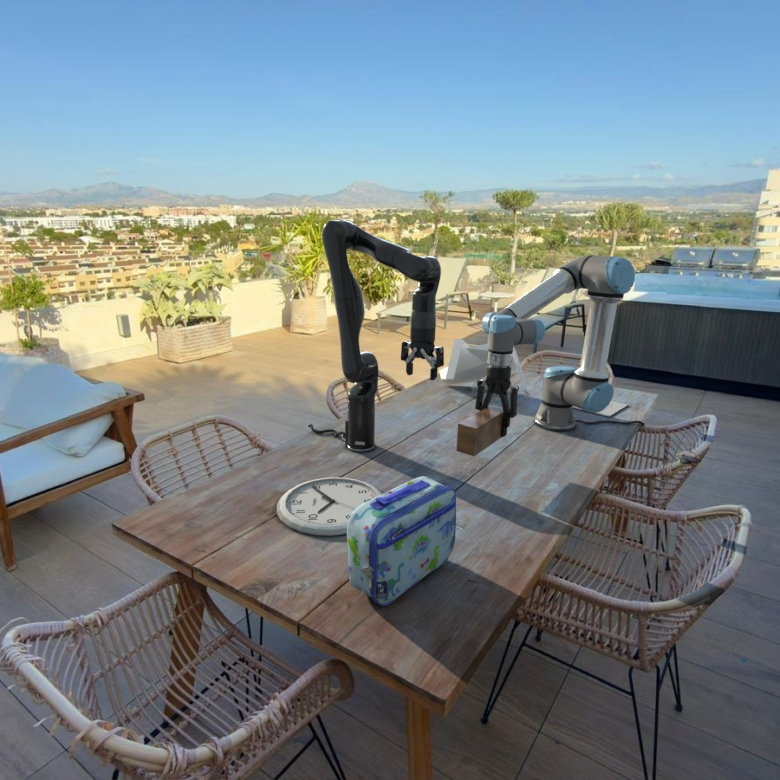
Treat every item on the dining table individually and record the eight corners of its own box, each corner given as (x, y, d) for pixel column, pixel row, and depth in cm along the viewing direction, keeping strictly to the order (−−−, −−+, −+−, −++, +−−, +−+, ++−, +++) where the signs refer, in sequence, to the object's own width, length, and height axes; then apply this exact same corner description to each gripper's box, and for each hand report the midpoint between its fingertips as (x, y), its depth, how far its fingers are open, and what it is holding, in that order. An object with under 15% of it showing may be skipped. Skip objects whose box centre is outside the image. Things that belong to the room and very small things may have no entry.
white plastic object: (461, 429, 252) (437, 405, 227) (444, 352, 274) (420, 323, 250) (535, 404, 240) (518, 377, 215) (510, 326, 262) (492, 293, 237)
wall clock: (392, 527, 129) (268, 531, 127) (391, 533, 130) (269, 537, 127) (383, 473, 158) (282, 475, 155) (383, 478, 158) (282, 480, 156)
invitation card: (608, 416, 214) (573, 407, 224) (608, 416, 214) (573, 408, 224) (628, 404, 229) (594, 396, 238) (628, 405, 229) (594, 397, 238)
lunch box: (376, 619, 101) (377, 524, 95) (340, 592, 109) (339, 502, 102) (459, 562, 119) (465, 479, 113) (424, 542, 126) (427, 463, 120)
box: (489, 429, 175) (491, 404, 173) (506, 433, 172) (508, 408, 169) (456, 451, 158) (457, 423, 156) (474, 456, 155) (476, 428, 152)
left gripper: (396, 324, 158) (395, 375, 163) (436, 329, 150) (434, 384, 155) (410, 320, 164) (409, 370, 168) (450, 326, 155) (447, 378, 160)
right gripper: (466, 362, 167) (462, 429, 173) (523, 372, 156) (516, 444, 163) (477, 358, 172) (473, 423, 179) (533, 367, 161) (526, 437, 168)
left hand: (421, 377), depth 161 cm, fingers open, 8 cm apart
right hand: (493, 433), depth 171 cm, fingers closed on box, 6 cm apart
